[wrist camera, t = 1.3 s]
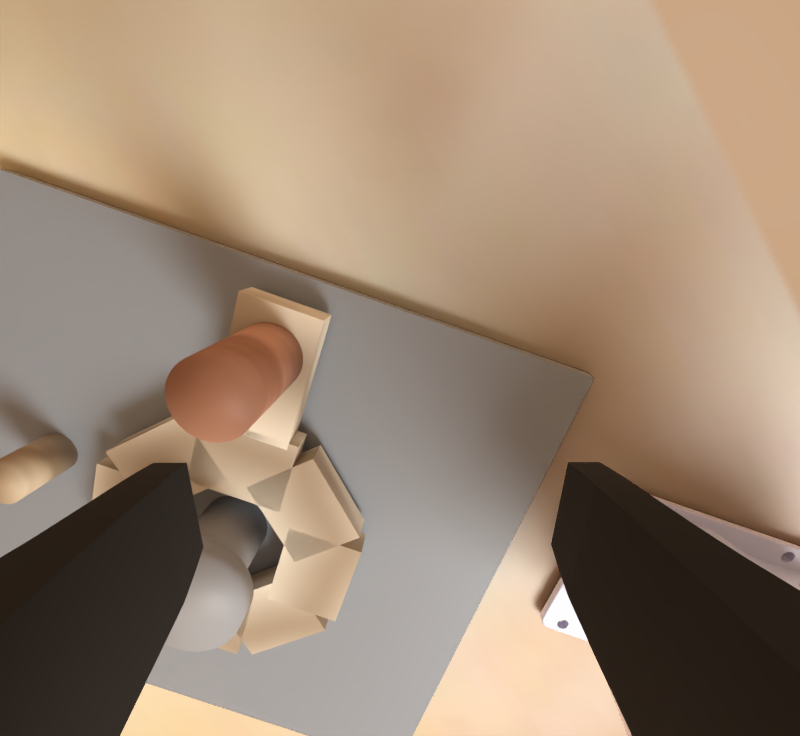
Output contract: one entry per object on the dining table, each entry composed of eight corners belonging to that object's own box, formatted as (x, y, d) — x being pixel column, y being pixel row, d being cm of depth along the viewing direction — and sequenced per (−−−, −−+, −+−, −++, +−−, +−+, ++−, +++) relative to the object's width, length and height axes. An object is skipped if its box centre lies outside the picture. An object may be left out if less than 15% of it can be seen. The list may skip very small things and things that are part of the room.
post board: (589, 373, 18) (649, 427, 13) (398, 752, 25) (389, 881, 20) (12, 170, 17) (-161, 145, 12) (-12, 619, 24) (-126, 717, 19)
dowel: (79, 440, 20) (24, 472, 17) (76, 473, 20) (21, 510, 18) (41, 427, 20) (-21, 458, 17) (38, 461, 20) (-22, 495, 18)
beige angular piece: (319, 656, 22) (282, 791, 17) (97, 582, 22) (-13, 696, 16) (435, 350, 17) (434, 405, 12) (146, 250, 17) (10, 258, 11)
